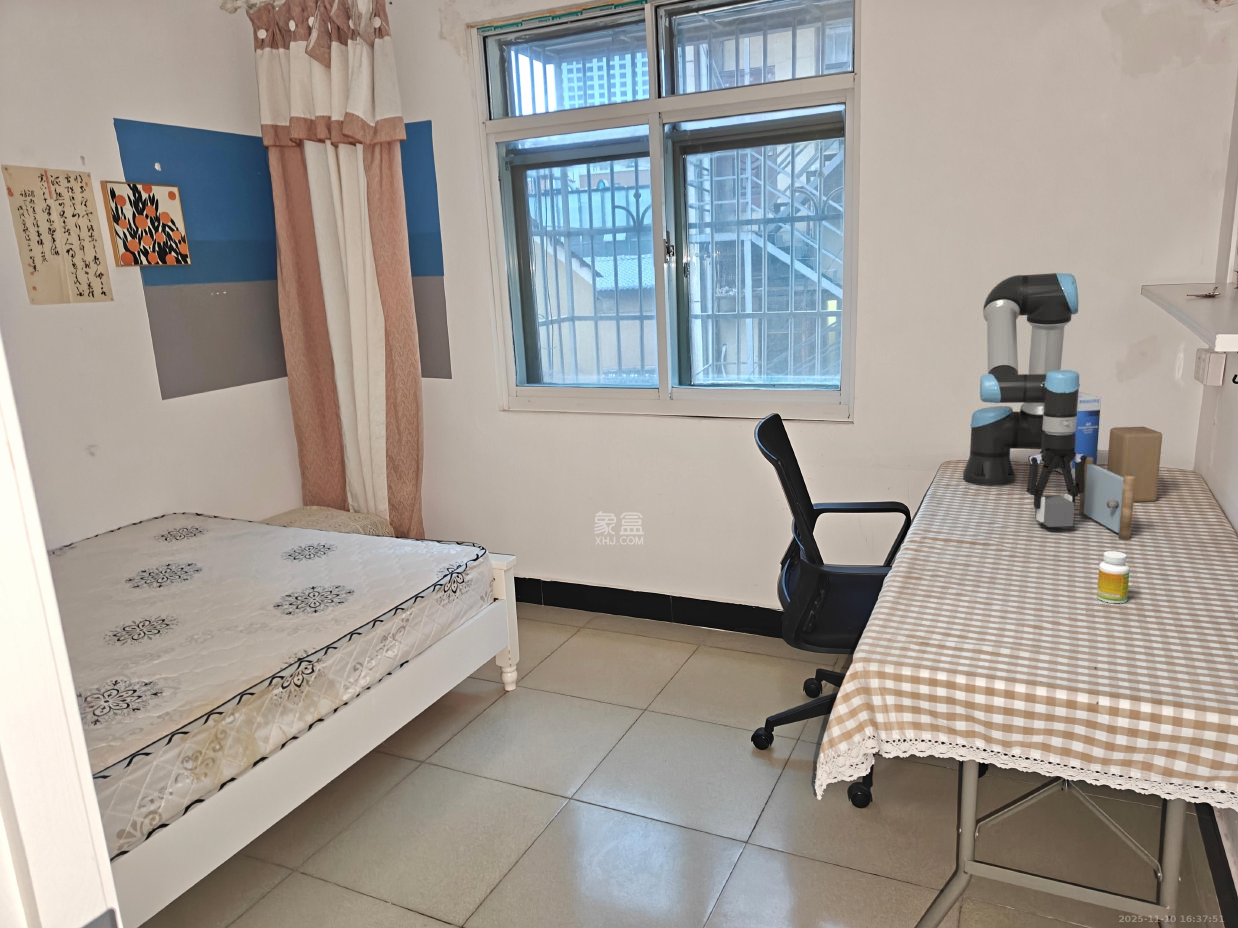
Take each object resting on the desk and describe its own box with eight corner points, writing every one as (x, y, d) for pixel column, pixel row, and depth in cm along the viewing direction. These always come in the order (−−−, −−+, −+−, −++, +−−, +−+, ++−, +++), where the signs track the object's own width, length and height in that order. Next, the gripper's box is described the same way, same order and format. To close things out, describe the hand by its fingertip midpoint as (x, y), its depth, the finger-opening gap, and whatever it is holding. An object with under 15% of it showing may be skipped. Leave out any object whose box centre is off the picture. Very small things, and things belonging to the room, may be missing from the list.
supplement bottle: (1126, 605, 167) (1130, 560, 165) (1095, 601, 170) (1099, 556, 168) (1127, 596, 171) (1131, 551, 169) (1097, 592, 174) (1100, 548, 172)
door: (1076, 513, 224) (1079, 464, 221) (1089, 513, 224) (1093, 464, 221) (1108, 532, 208) (1112, 480, 205) (1123, 532, 207) (1128, 479, 204)
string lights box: (1096, 478, 262) (1102, 396, 256) (1072, 479, 262) (1078, 398, 256) (1073, 468, 275) (1078, 390, 269) (1050, 469, 275) (1055, 392, 269)
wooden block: (1139, 493, 243) (1145, 425, 239) (1157, 502, 234) (1164, 432, 229) (1103, 493, 244) (1108, 427, 240) (1120, 503, 235) (1125, 433, 230)
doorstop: (1034, 518, 219) (1036, 496, 218) (1058, 517, 219) (1059, 495, 218) (1048, 526, 212) (1049, 504, 210) (1072, 525, 211) (1074, 503, 210)
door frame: (1077, 514, 227) (1081, 456, 223) (1086, 513, 227) (1090, 456, 223) (1122, 540, 205) (1127, 477, 201) (1132, 540, 204) (1137, 476, 201)
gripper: (1026, 436, 207) (1021, 525, 212) (1105, 433, 206) (1098, 523, 211) (1014, 431, 214) (1009, 517, 220) (1090, 427, 213) (1084, 514, 218)
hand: (1053, 519), depth 215 cm, fingers closed on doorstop, 6 cm apart
